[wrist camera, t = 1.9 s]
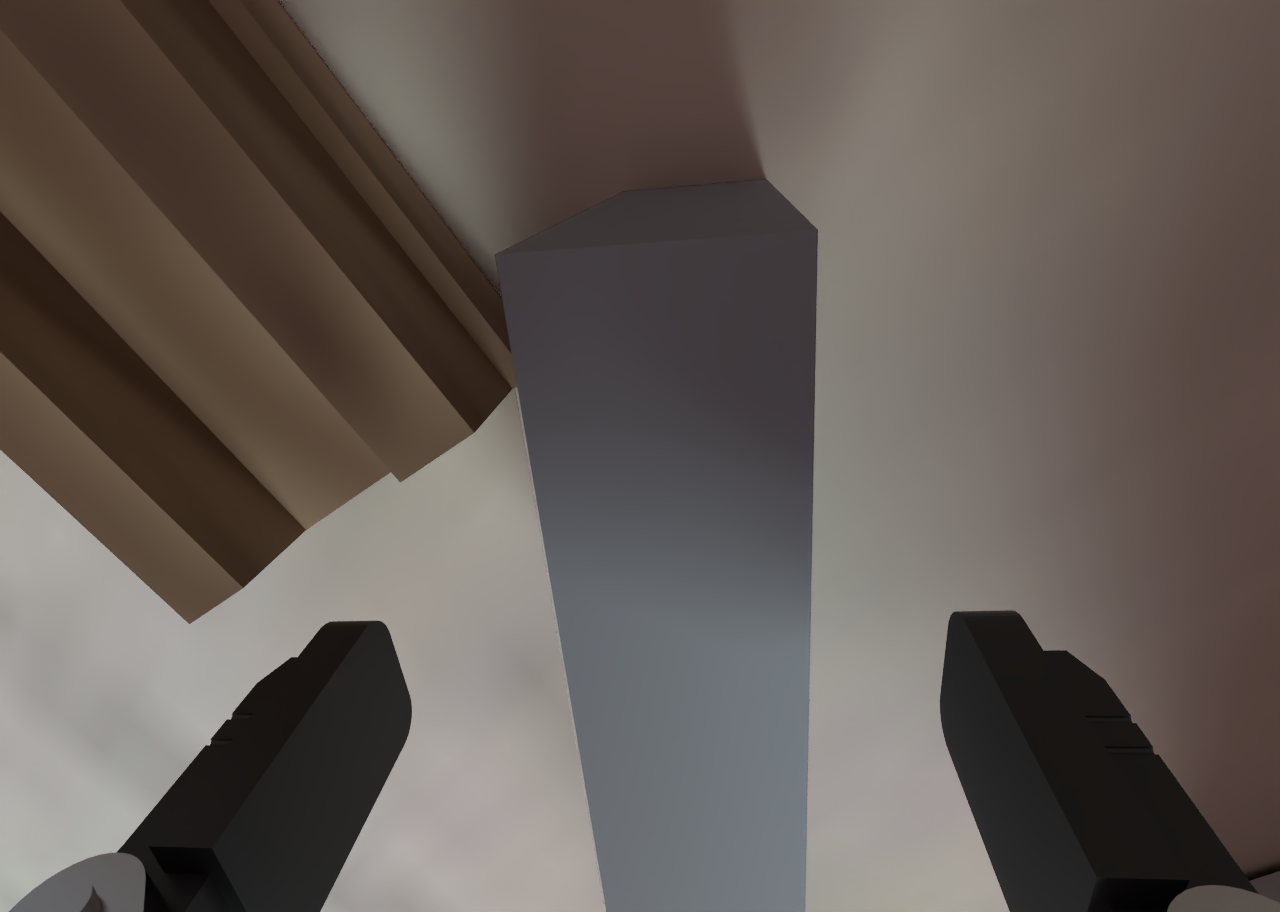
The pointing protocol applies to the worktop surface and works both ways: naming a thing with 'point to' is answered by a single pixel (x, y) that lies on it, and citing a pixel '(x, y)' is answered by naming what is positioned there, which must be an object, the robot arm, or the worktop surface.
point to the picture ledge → (217, 288)
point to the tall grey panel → (678, 528)
